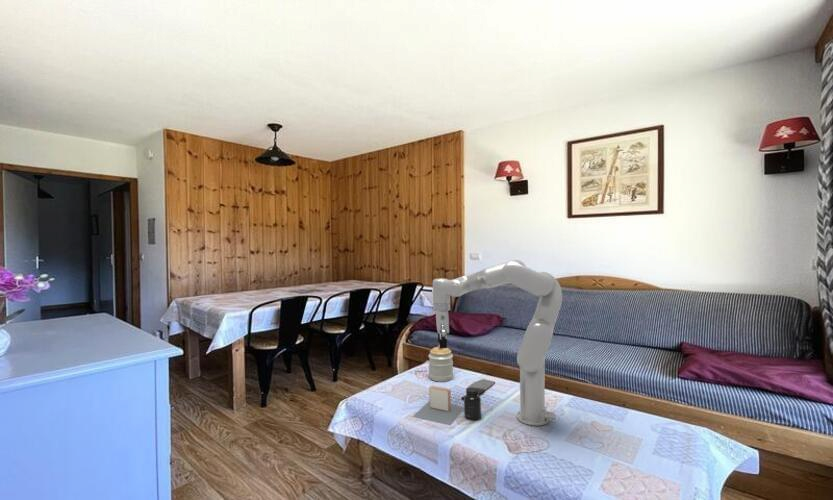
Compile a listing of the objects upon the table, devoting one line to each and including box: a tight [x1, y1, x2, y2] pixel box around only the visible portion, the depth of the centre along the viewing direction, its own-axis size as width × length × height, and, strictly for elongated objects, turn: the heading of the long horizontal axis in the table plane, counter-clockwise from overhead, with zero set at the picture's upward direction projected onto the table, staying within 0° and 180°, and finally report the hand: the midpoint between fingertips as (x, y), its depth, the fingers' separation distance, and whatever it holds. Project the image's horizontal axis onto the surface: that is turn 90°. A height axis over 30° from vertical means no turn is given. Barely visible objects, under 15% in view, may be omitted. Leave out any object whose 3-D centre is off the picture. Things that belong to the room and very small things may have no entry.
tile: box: [429, 385, 452, 412], centre depth 163 cm, size 9×2×9 cm, turn 63°
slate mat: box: [412, 400, 464, 426], centre depth 160 cm, size 17×17×1 cm
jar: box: [428, 344, 454, 383], centre depth 201 cm, size 13×13×18 cm
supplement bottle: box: [463, 387, 482, 422], centre depth 155 cm, size 7×7×12 cm
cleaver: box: [460, 378, 496, 401], centre depth 184 cm, size 29×10×2 cm, turn 146°
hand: (442, 344), depth 168 cm, fingers open, 9 cm apart
